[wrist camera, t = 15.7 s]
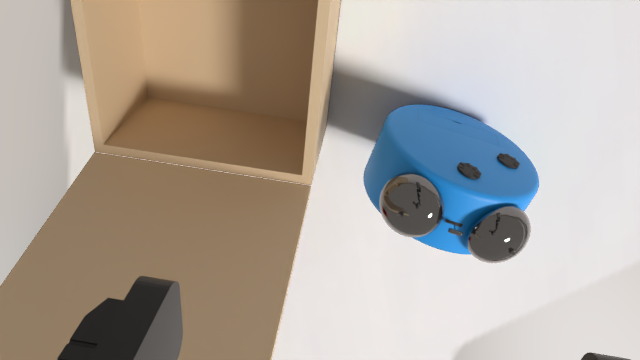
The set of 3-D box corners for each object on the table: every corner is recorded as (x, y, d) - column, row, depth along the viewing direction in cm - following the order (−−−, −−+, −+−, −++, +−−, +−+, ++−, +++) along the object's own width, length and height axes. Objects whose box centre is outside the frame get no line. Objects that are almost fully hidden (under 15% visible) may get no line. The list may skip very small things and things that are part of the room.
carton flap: (-130, 461, 26) (-115, 471, 27) (230, 530, 25) (231, 538, 26) (93, 148, 44) (97, 161, 45) (311, 181, 43) (310, 195, 44)
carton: (123, -108, 42) (55, -91, 34) (349, -79, 41) (336, -55, 33) (143, 100, 52) (95, 151, 44) (326, 127, 51) (311, 185, 43)
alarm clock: (366, 140, 52) (354, 240, 39) (389, 83, 48) (384, 173, 36) (493, 182, 52) (521, 294, 40) (525, 130, 49) (566, 234, 36)
